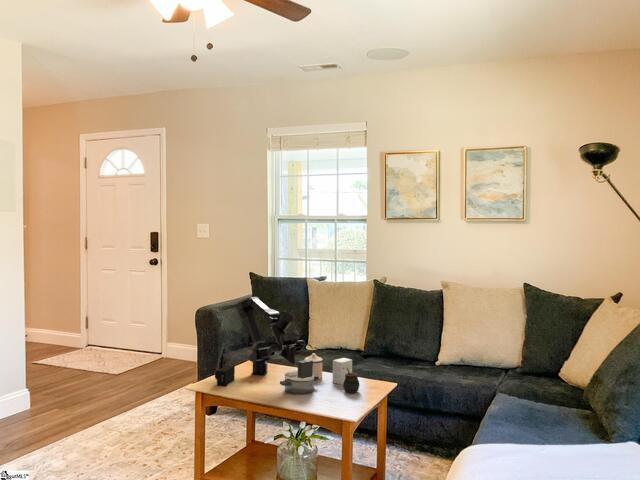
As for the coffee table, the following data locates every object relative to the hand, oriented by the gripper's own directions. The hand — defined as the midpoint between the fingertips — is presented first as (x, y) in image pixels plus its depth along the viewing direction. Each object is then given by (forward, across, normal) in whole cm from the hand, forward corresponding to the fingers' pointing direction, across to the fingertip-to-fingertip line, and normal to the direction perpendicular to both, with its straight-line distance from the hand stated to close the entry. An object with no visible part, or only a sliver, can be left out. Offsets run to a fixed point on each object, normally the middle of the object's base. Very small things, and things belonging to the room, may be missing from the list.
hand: (293, 363), depth 248 cm
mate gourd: (+22, +17, -6) cm, 29 cm away
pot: (+11, 0, +4) cm, 12 cm away
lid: (+7, 0, 0) cm, 7 cm away
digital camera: (-9, -22, +26) cm, 35 cm away
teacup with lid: (+2, +17, +14) cm, 22 cm away
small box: (+12, +24, +3) cm, 27 cm away
